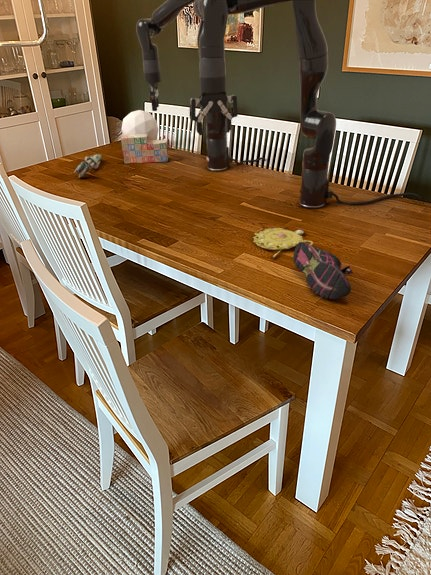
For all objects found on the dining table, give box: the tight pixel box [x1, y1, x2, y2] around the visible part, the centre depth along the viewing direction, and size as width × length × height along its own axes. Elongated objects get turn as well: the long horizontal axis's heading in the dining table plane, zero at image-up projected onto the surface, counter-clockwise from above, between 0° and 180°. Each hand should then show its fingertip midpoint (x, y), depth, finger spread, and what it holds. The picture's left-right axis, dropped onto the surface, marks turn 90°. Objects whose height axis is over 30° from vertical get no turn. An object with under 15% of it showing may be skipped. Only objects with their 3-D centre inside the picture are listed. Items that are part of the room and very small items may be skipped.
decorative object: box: [252, 227, 314, 259], centre depth 140 cm, size 21×2×20 cm
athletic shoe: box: [292, 242, 354, 300], centre depth 118 cm, size 11×22×12 cm
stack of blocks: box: [120, 134, 169, 164], centre depth 216 cm, size 21×6×12 cm, turn 91°
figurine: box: [73, 154, 103, 179], centre depth 208 cm, size 7×8×30 cm
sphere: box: [121, 109, 159, 141], centre depth 235 cm, size 19×20×20 cm
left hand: (155, 109), depth 207 cm, fingers open, 8 cm apart
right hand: (214, 133), depth 134 cm, fingers open, 8 cm apart
